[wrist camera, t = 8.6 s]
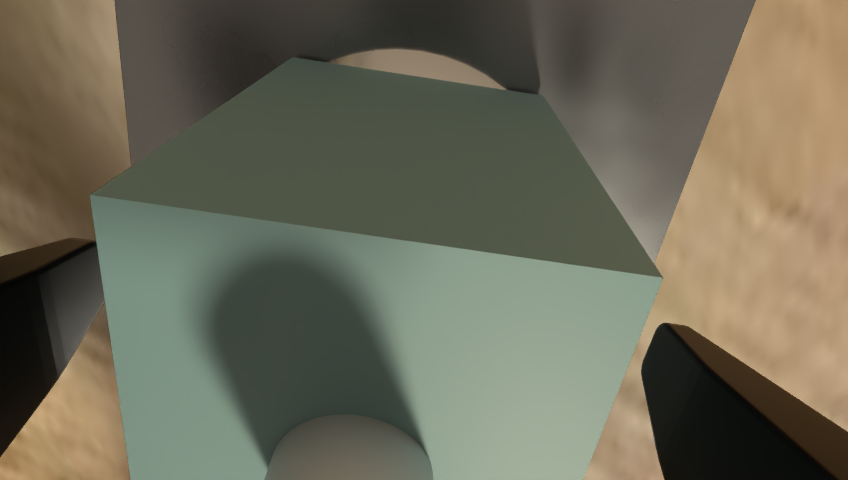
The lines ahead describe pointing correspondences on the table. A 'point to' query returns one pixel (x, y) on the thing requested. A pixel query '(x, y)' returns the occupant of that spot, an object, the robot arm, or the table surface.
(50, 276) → the robot arm
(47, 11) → the table surface
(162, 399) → the block
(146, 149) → the press bed
